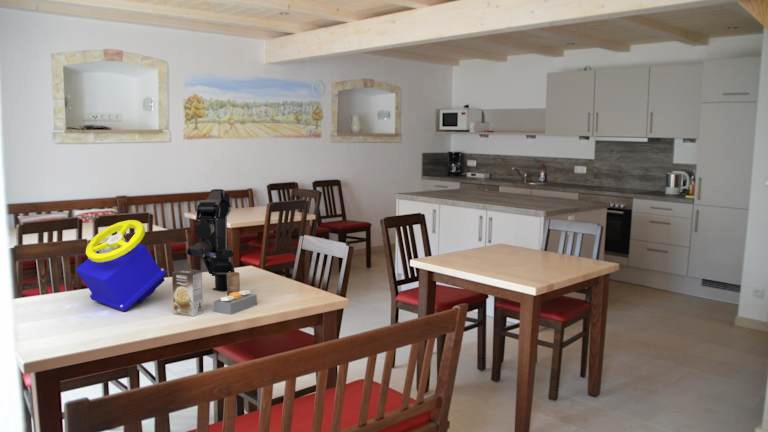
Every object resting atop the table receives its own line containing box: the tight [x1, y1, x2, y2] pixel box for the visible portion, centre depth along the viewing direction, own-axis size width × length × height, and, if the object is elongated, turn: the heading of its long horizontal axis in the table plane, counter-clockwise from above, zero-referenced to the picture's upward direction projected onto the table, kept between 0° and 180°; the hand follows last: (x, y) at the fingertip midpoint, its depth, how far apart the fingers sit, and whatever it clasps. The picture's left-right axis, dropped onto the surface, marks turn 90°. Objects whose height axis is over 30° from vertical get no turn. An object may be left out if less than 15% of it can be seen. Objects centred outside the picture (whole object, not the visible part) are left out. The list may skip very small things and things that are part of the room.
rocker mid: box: [229, 292, 242, 299], centre depth 241 cm, size 4×3×1 cm
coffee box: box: [171, 268, 204, 318], centre depth 234 cm, size 9×6×16 cm
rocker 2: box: [237, 289, 251, 295], centre depth 245 cm, size 4×3×1 cm
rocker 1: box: [220, 295, 234, 301], centre depth 237 cm, size 4×3×1 cm
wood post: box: [226, 271, 241, 296], centre depth 256 cm, size 5×5×10 cm
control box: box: [75, 219, 168, 313], centre depth 244 cm, size 26×27×30 cm
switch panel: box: [213, 293, 258, 315], centre depth 242 cm, size 8×15×4 cm, turn 152°
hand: (210, 273), depth 246 cm, fingers closed
